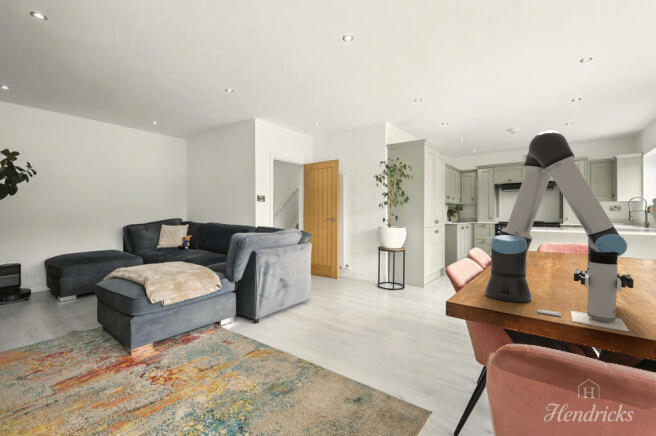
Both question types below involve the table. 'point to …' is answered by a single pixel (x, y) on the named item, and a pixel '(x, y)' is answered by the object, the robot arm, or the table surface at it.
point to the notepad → (598, 321)
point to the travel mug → (602, 286)
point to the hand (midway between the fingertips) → (602, 284)
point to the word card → (549, 312)
